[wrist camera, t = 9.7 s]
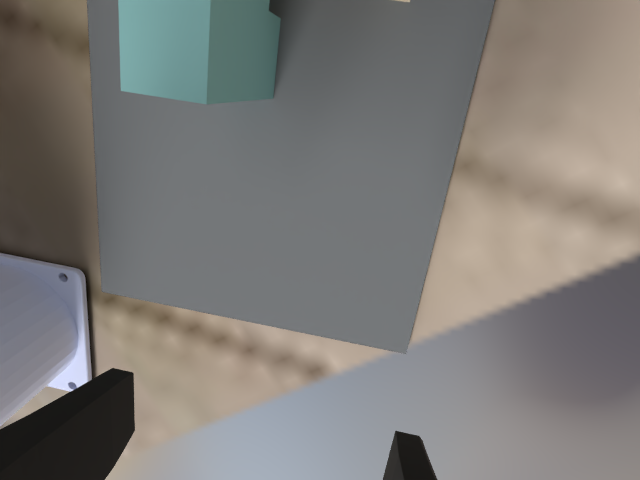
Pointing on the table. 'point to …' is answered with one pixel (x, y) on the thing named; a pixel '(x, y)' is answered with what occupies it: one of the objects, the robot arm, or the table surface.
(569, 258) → the table surface
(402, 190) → the mat
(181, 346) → the table surface
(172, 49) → the teal board
